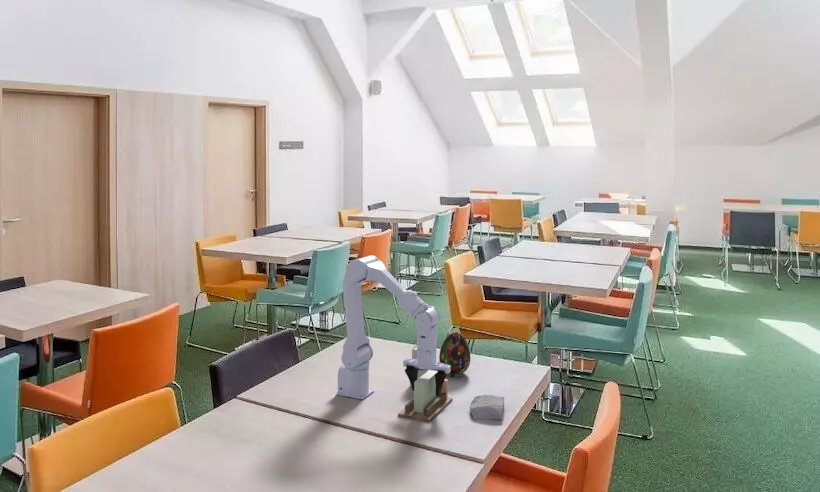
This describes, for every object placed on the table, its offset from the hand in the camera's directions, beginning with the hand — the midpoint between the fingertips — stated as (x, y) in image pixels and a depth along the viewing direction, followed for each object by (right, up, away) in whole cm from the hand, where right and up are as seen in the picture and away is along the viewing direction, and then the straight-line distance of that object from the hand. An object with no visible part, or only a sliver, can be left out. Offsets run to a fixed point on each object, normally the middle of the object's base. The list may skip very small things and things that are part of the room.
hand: (426, 392), depth 193 cm
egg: (+11, -1, +30) cm, 32 cm away
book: (0, -4, +1) cm, 4 cm away
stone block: (+18, -6, -1) cm, 19 cm away
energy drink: (-2, -2, +21) cm, 21 cm away
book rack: (0, -5, +1) cm, 5 cm away
